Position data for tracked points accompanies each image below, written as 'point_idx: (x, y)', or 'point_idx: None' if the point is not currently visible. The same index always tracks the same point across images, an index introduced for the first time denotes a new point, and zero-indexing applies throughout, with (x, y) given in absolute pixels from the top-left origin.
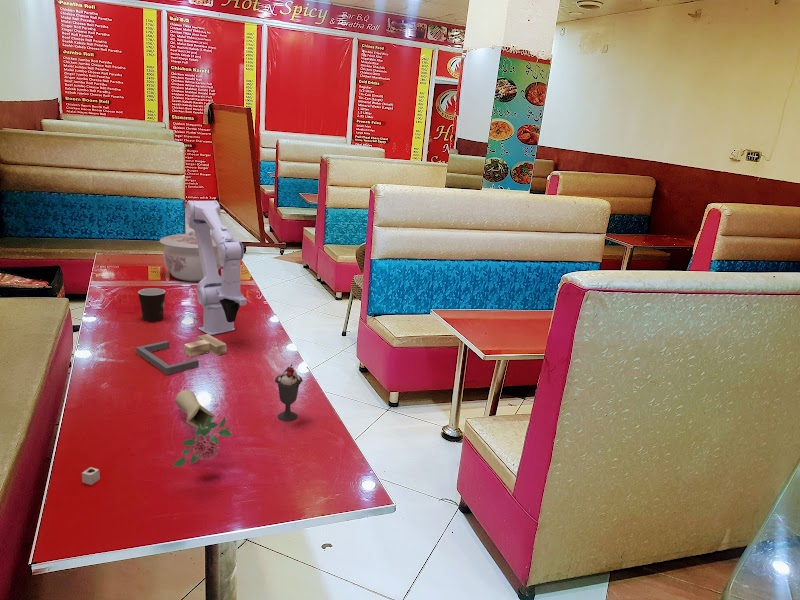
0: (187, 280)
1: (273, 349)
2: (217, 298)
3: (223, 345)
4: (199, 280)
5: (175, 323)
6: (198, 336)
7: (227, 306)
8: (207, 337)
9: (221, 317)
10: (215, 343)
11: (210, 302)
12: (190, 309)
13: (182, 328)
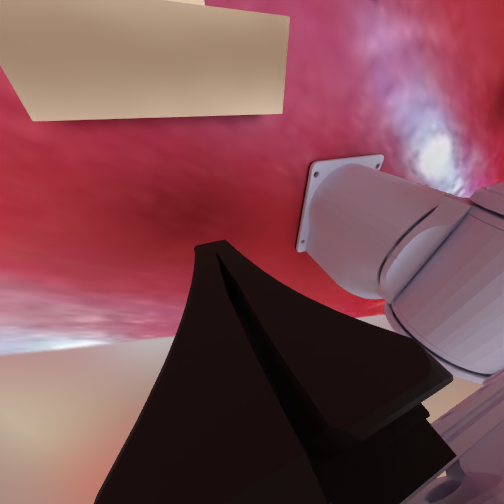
0: None
1: (72, 310)
2: (454, 288)
3: (14, 87)
4: None
5: (463, 109)
6: (281, 19)
7: (145, 444)
8: (232, 71)
9: (344, 238)
10: (74, 41)
11: (463, 238)
12: None
13: (426, 104)
